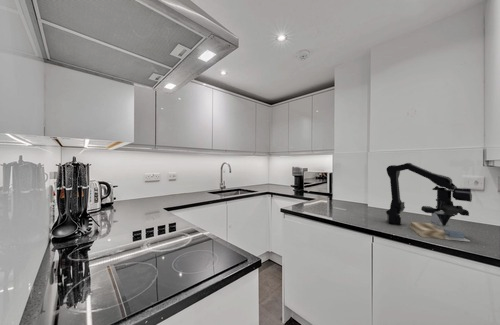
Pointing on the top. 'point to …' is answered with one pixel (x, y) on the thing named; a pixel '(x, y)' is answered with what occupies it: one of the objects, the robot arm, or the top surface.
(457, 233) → the tile
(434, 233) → the deck
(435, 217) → the medicine box
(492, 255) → the top surface
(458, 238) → the mat
